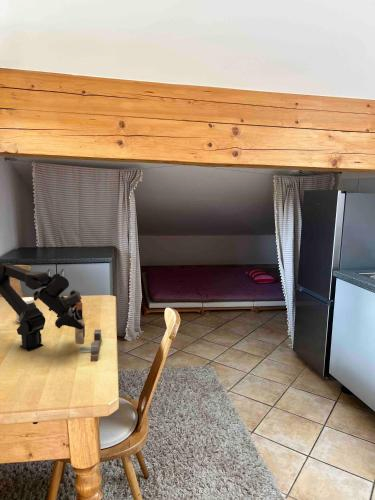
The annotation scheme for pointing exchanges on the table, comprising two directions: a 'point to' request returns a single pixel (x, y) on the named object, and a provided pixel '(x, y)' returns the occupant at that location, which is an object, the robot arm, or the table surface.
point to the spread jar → (30, 303)
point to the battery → (79, 309)
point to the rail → (93, 346)
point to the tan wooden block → (80, 334)
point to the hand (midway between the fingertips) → (83, 326)
